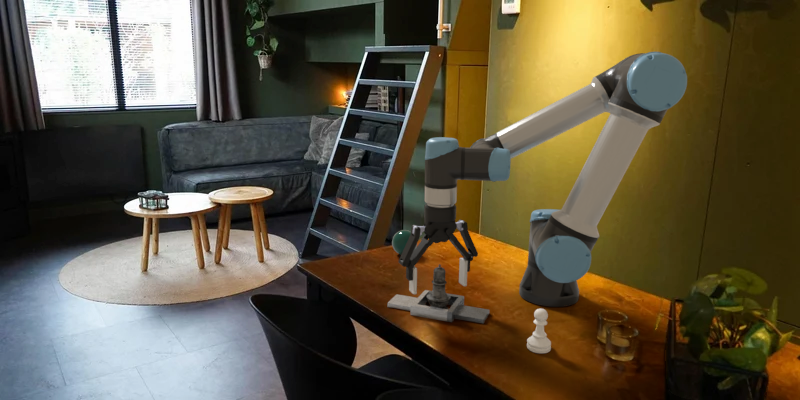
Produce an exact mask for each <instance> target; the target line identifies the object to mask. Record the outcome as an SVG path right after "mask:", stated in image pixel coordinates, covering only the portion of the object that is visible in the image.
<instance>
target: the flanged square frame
mask: <svg viewBox="0 0 800 400" xmlns="http://www.w3.org/2000/svg"><path fill="white" fill-rule="evenodd" d="M431 292H432V290H428V289H424V291H422V293H421V294H420V295H418V297H414V296H411V295H410V296H409V295H404V294H395V295H394V296H393V297H392V298H390V300H389V301H388V302H387V308H391V309H392V308H394V309H399V310H405V311H410V316H415V317H421V318H425V319H426V318H427V319H432V320H438V321H443V322H449V323H453V322H454V321H455V320H460V321H461V320H462V321H467V322H473V323H477V324H484V323H485V321H486V320H487V318H488V317H489V315H490V309H487V308H481V307H475V306H469V305H465V295H459V294H453V293H448V294H449V295H450V296H451V298H450V300H449V303H448V305H447V306H450V308H448V309H449V310H448V309H442V308H437V307H431V305H427V303H429V302H428V298H427V295H428V294H429V293H431Z"/></svg>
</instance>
